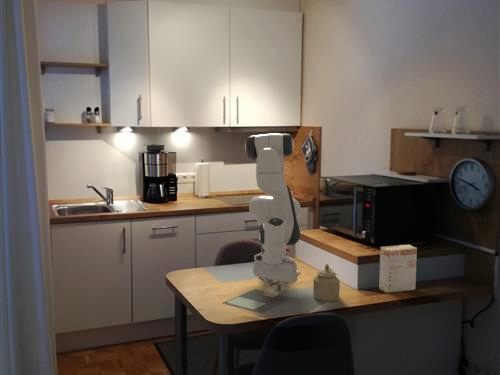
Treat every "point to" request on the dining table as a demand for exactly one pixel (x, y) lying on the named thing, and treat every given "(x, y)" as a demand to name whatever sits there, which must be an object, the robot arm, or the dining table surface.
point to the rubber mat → (257, 301)
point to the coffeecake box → (397, 268)
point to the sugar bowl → (326, 285)
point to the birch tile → (273, 288)
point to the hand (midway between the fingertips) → (274, 289)
